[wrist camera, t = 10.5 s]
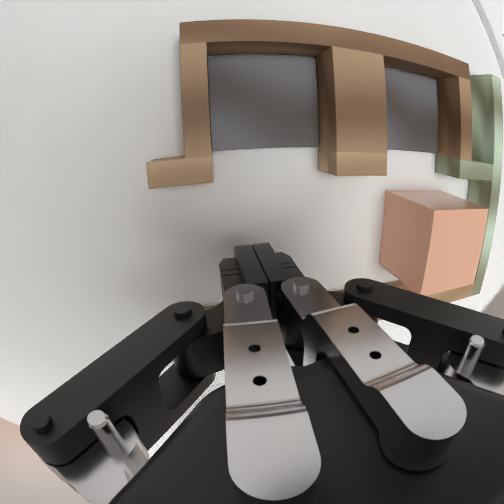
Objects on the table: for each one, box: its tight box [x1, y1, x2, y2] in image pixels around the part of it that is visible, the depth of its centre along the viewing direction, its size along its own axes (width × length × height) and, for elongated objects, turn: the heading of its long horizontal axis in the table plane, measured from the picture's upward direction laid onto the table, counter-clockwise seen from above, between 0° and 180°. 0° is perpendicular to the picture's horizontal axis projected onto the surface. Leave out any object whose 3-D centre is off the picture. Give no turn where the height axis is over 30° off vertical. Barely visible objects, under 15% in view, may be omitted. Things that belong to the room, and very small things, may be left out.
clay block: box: [379, 190, 488, 296], centre depth 17 cm, size 5×5×5 cm
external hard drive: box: [472, 0, 504, 78], centre depth 13 cm, size 2×8×12 cm
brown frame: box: [146, 19, 503, 320], centre depth 16 cm, size 17×23×2 cm
